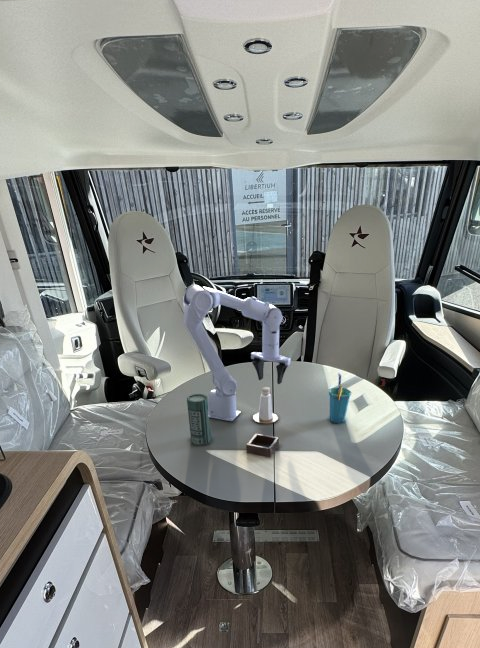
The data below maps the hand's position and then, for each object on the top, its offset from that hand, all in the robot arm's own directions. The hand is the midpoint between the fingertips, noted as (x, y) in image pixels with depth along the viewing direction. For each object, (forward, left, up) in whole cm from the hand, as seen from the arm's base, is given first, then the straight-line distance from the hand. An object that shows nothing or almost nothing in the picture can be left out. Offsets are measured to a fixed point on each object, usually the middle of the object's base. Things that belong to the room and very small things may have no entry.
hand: (270, 381), depth 159 cm
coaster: (+2, -9, -10) cm, 14 cm away
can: (-12, -32, -11) cm, 36 cm away
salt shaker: (+2, -9, -10) cm, 14 cm away
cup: (+26, 0, -11) cm, 28 cm away
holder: (+9, -30, -10) cm, 33 cm away
